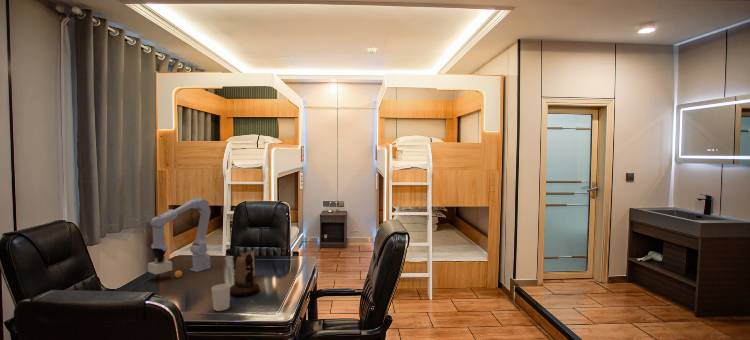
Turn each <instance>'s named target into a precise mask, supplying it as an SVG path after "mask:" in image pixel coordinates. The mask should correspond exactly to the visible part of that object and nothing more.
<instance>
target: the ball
mask: <svg viewBox="0 0 750 340" xmlns="http://www.w3.org/2000/svg"><path fill="white" fill-rule="evenodd" d="M173 275H174V277H175V278H181V277H182V275H183V272H182V271H181V270H179V269H178V270H176V271H175V272H174V274H173Z"/></svg>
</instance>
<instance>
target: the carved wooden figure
mask: <svg viewBox="0 0 750 340" xmlns="http://www.w3.org/2000/svg"><path fill="white" fill-rule="evenodd" d="M240 254H241V257H246V256H247V255H248V254H251V256H252V259H253V261H252V262H253V263H252V264H253V268H254V270H253V277H255V274H256V272H255V271H256V270H255V269H256V268H255V267H256V266H255V250H250V251H246V252H243V253H240ZM246 268H248V267H246ZM249 268H250V266H249ZM249 272H250V271H249V270H246V271H245V276H247V274H248V273H249Z"/></svg>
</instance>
